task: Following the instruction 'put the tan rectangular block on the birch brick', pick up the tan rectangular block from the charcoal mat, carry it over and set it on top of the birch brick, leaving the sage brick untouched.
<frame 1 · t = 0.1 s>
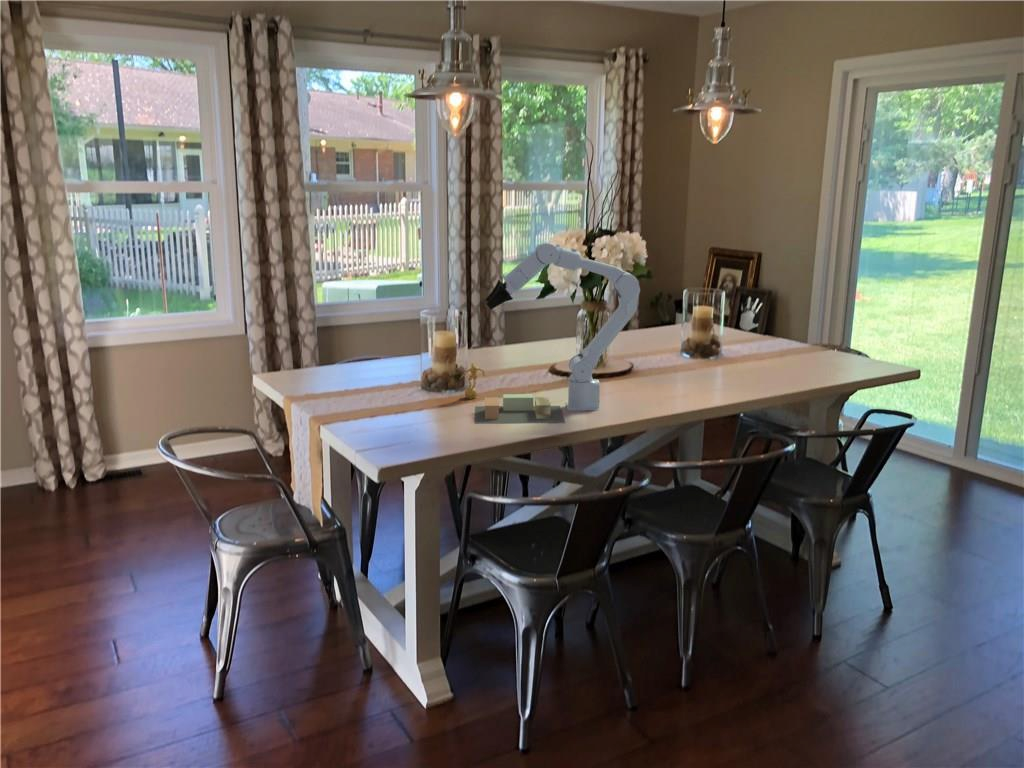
hand: (488, 304, 246), 32 cm above the table, tool tilted 50°, fingers open, 7 cm apart
mat: (518, 415, 247), on the table
tan rectangular block: (491, 414, 246), resting on mat
figurine: (472, 400, 264), on the table
sage brick: (518, 408, 252), resting on mat
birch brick: (542, 414, 247), resting on mat
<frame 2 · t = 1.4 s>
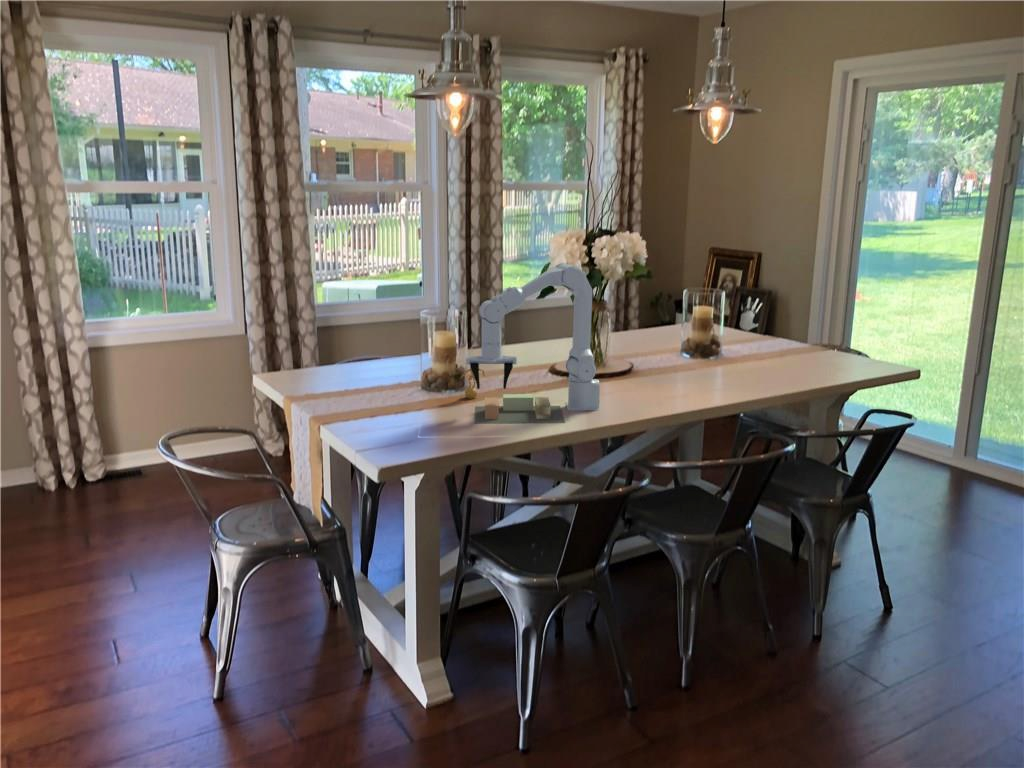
hand: (491, 388, 244), 9 cm above the table, tool pointing down, fingers open, 7 cm apart
nothing on the table moved.
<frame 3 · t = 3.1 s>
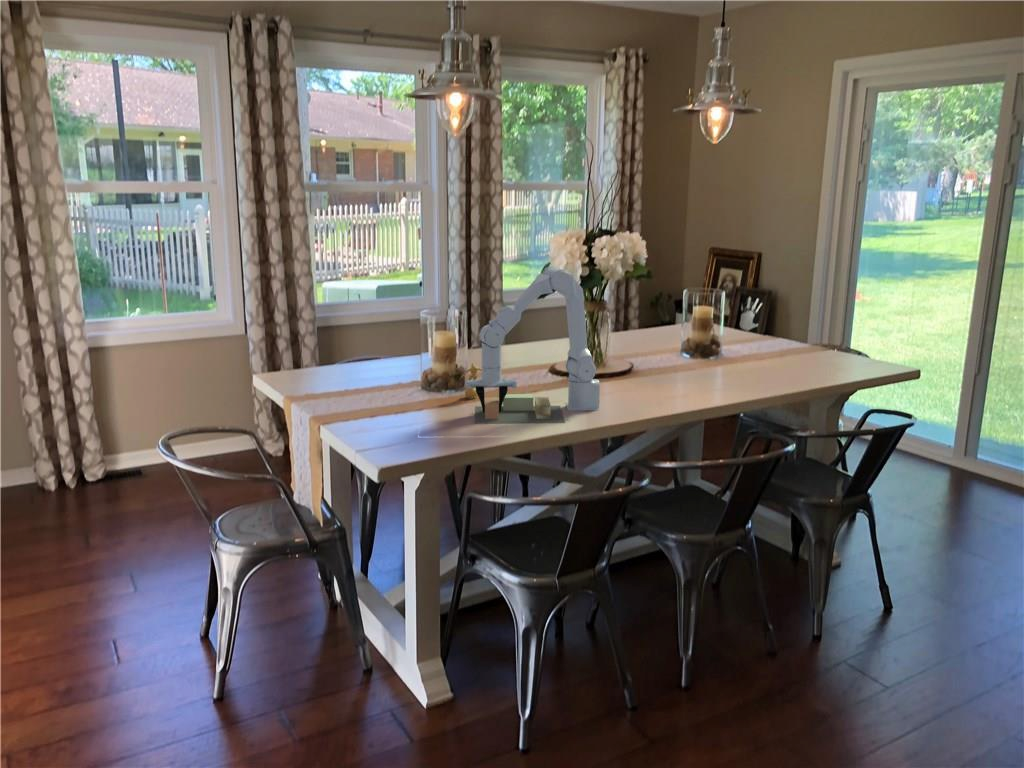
hand: (491, 411, 246), 1 cm above the table, tool pointing down, fingers closed on tan rectangular block, 4 cm apart
tan rectangular block: (491, 414, 246), resting on mat, touching gripper
everything else where it was.
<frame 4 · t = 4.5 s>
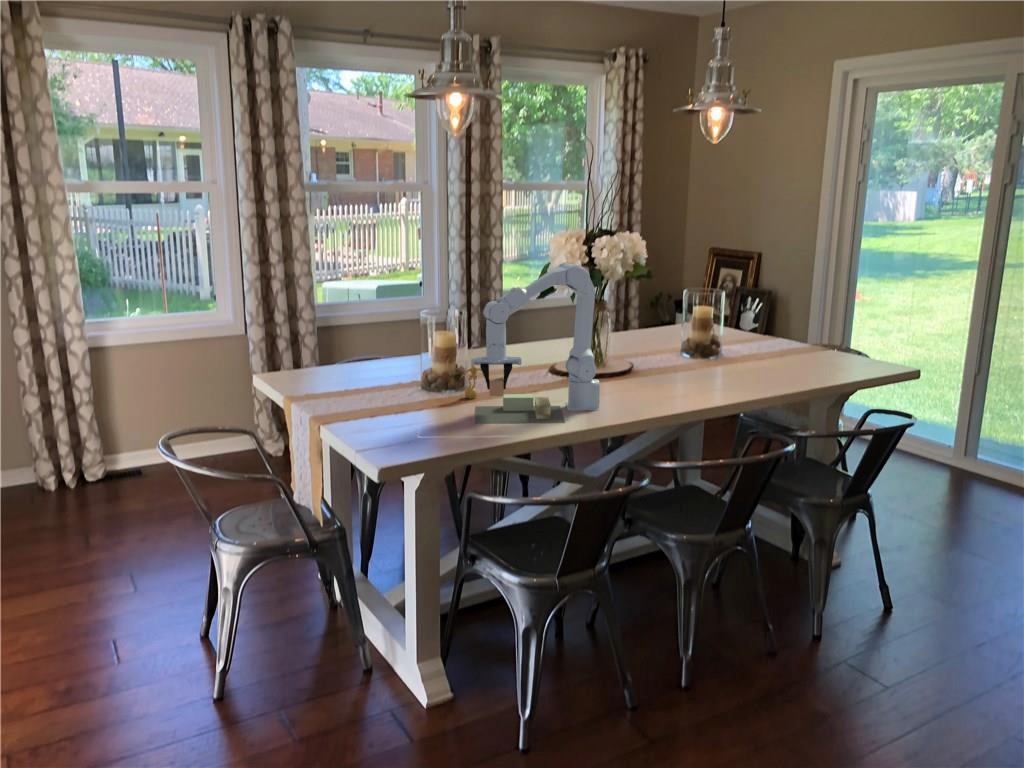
hand: (496, 388, 244), 8 cm above the table, tool pointing down, fingers closed on tan rectangular block, 4 cm apart
tan rectangular block: (496, 391, 245), point 7 cm above the table, touching gripper
everything else where it was.
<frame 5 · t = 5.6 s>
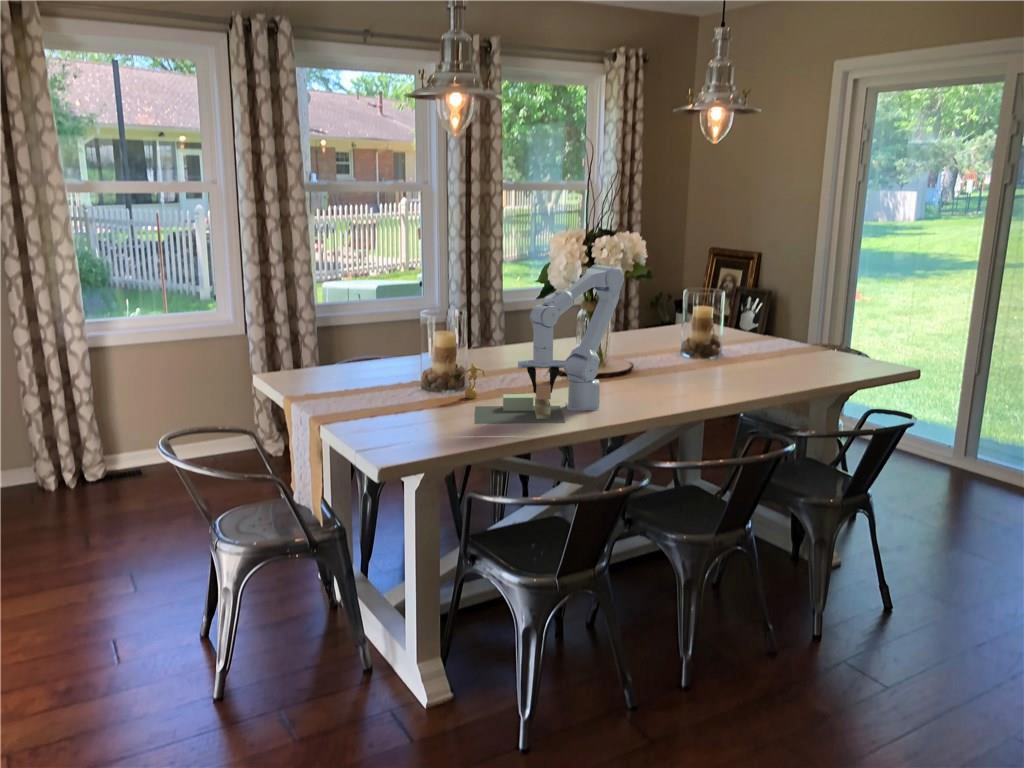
hand: (542, 392, 245), 7 cm above the table, tool pointing down, fingers closed on tan rectangular block, 4 cm apart
tan rectangular block: (542, 395, 245), point 6 cm above the table, touching gripper
everything else where it was.
when the fingers open (6 cm above the table, at t = 6.1 s): tan rectangular block moves 1 cm, resting on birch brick.
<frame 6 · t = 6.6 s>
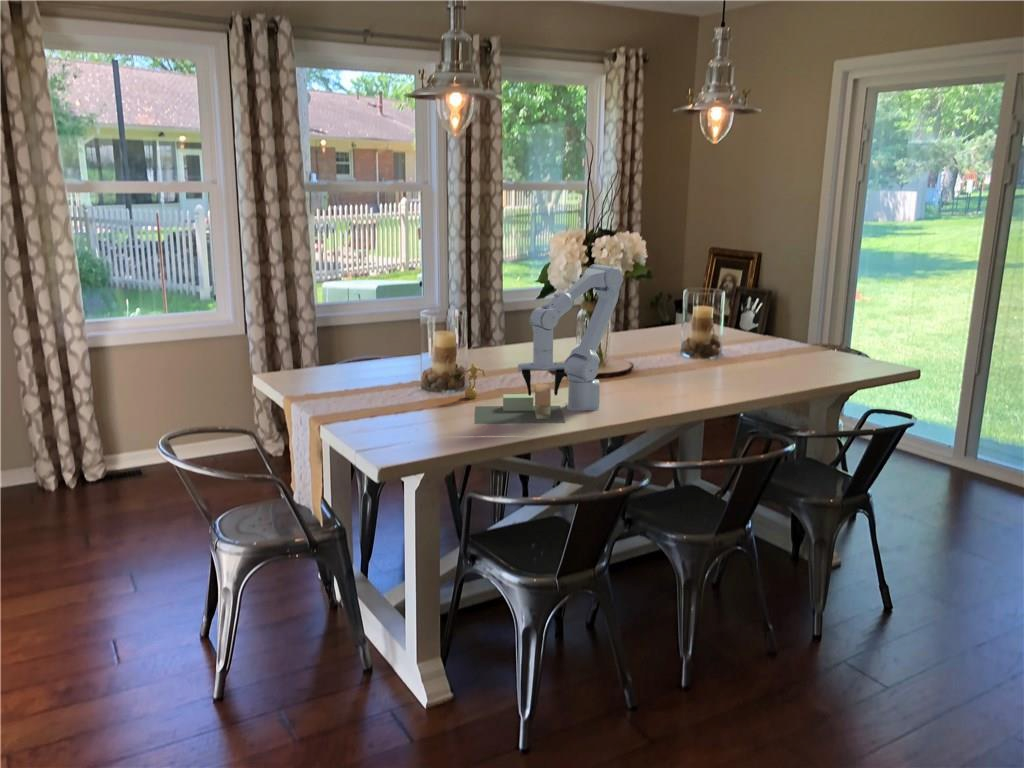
hand: (542, 394, 245), 6 cm above the table, tool pointing down, fingers open, 7 cm apart
tan rectangular block: (542, 401, 246), point 4 cm above the table, touching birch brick
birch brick: (542, 414, 247), resting on mat, touching tan rectangular block
everything else where it was.
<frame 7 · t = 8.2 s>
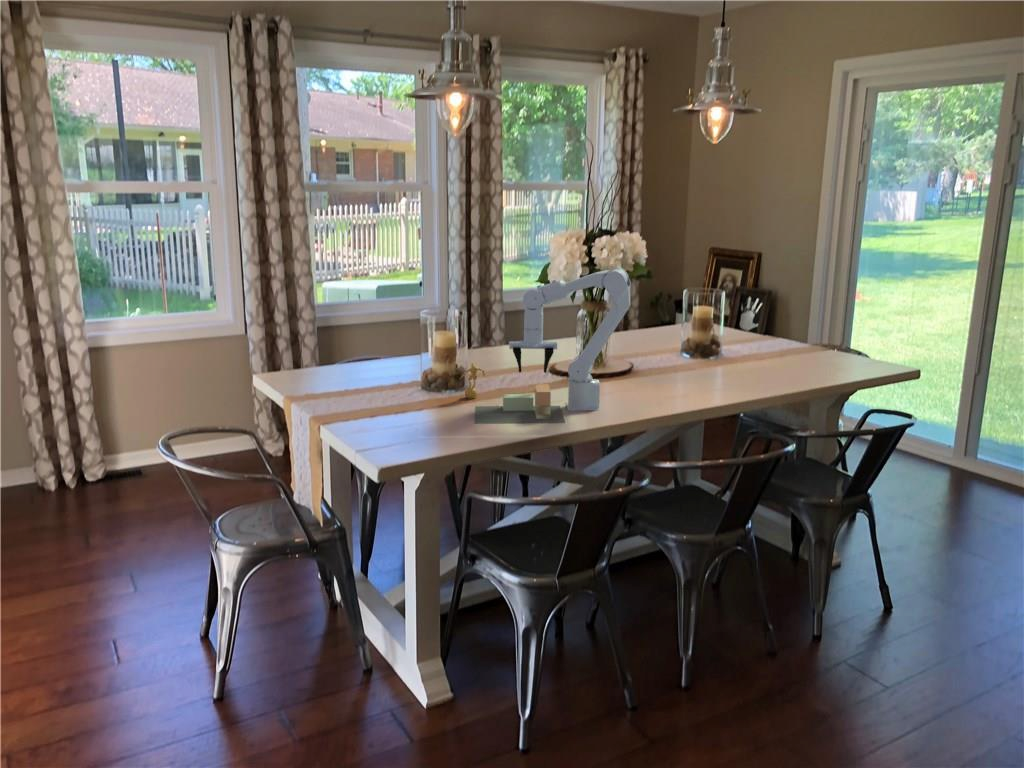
hand: (532, 371, 256), 10 cm above the table, tool pointing down, fingers open, 7 cm apart
nothing on the table moved.
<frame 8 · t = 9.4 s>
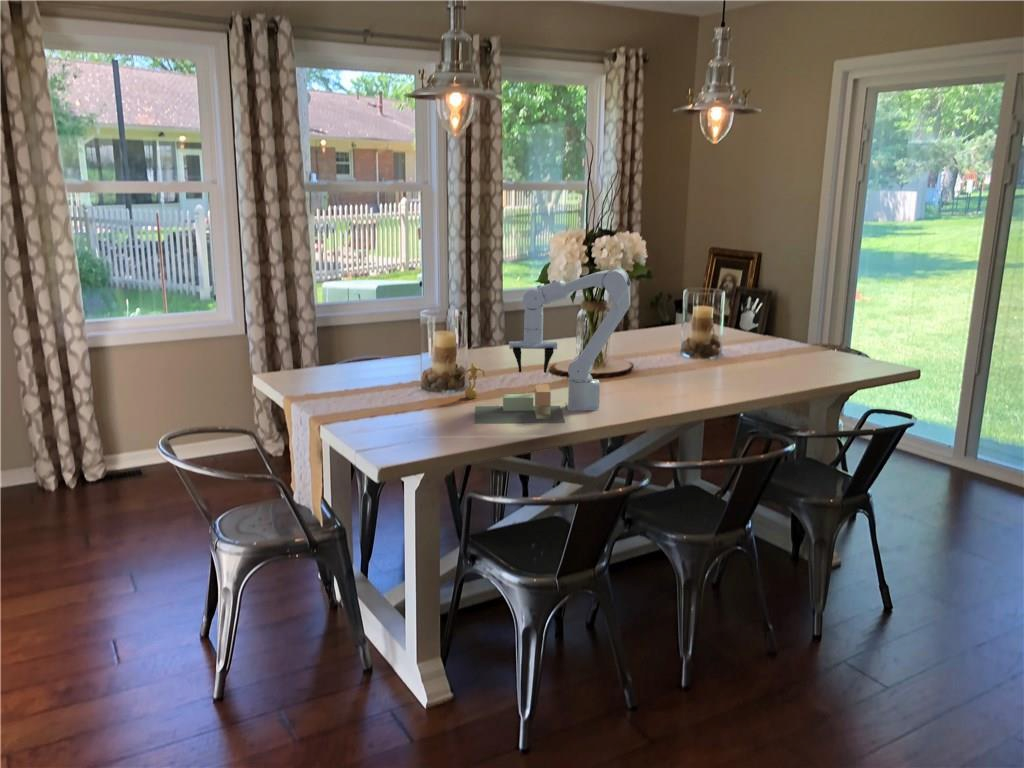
hand: (532, 371, 256), 10 cm above the table, tool pointing down, fingers open, 7 cm apart
nothing on the table moved.
at the end: tan rectangular block 0.0 cm off-centre on the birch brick, point 4.0 cm above the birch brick's base; sage brick moved 0.0 cm from its start; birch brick moved 0.0 cm from its start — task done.
